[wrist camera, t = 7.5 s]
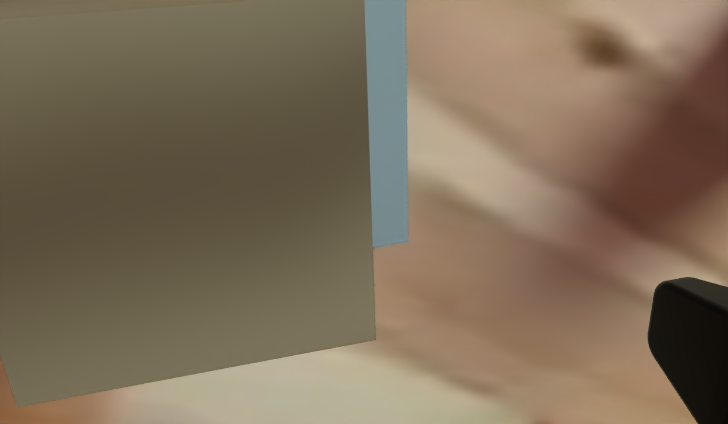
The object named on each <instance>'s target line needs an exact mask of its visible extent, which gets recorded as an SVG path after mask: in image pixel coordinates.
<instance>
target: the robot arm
mask: <svg viewBox="0 0 728 424" xmlns="http://www.w3.org/2000/svg"><path fill="white" fill-rule="evenodd" d="M648 344H649V348H650V350H651V353H652V355H653V357H654V358H655V360H656V361H657V363H658V364H659V366H660V367H661V369H662V370H663V372H664V373H665V375H666V376H667V378H668V379H669V381H670V382H671V384H672V385H673V387H674V388H675V390H676V391H677V393H678V394H679V396H680V397H681V399H682V401H683V402H684V404H685V405H686V407H687V408H688V410H689V411H690V413H691V414H692V416H693V417H694V419H695V420H696V422H697V423H698V424H728V287H725V286H721V285H718V284H714V283H711V282H707V281H703V280H700V279H696V278H692V277H684V278H679V279H674V280H668V281H664V282H662V283H660V284H659V285H658V286H657V287H656V289H655V292H654V297H653V303H652V309H651V316H650V322H649V329H648Z"/></svg>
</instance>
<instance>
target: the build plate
mask: <svg viewBox="0 0 728 424" xmlns="http://www.w3.org/2000/svg"><path fill="white" fill-rule="evenodd" d="M364 2H365V31H366V61H367V90H368V120H369V150H370V179H371V209H372V239H373V248H374V247H380V246H387V245H393V244H399V243H406V242H408V162H407V63H406V0H364Z"/></svg>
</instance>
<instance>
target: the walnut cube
mask: <svg viewBox="0 0 728 424" xmlns="http://www.w3.org/2000/svg"><path fill="white" fill-rule="evenodd" d="M372 340H376V327H375V298H374V268H373V239H372V209H371V179H370V150H369V120H368V90H367V61H366V31H365V2H364V0H0V356H1V359H2V362H3V365H4V369H5V372H6V375H7V378H8V381H9V384H10V388H11V391H12V394H13V397H14V400H15V403H16V406H17V407H22V406H27V405H33V404H38V403H43V402H49V401H54V400H59V399H64V398H70V397H75V396H80V395H86V394H91V393H96V392H102V391H107V390H112V389H118V388H123V387H128V386H133V385H139V384H144V383H149V382H155V381H160V380H165V379H171V378H176V377H181V376H187V375H192V374H197V373H203V372H208V371H213V370H218V369H224V368H229V367H234V366H240V365H245V364H250V363H256V362H261V361H266V360H272V359H277V358H282V357H287V356H293V355H298V354H303V353H309V352H314V351H319V350H325V349H330V348H335V347H341V346H346V345H351V344H357V343H362V342H367V341H372Z"/></svg>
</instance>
